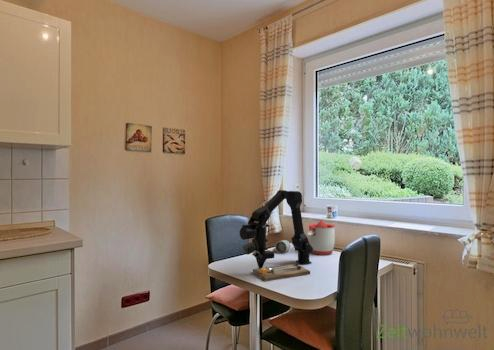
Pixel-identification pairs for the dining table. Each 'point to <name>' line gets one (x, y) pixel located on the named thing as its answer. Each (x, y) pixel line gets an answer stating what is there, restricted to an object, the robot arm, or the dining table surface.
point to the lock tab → (263, 270)
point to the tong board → (282, 272)
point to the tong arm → (278, 268)
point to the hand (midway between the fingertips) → (260, 269)
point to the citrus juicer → (322, 237)
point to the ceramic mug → (282, 246)
